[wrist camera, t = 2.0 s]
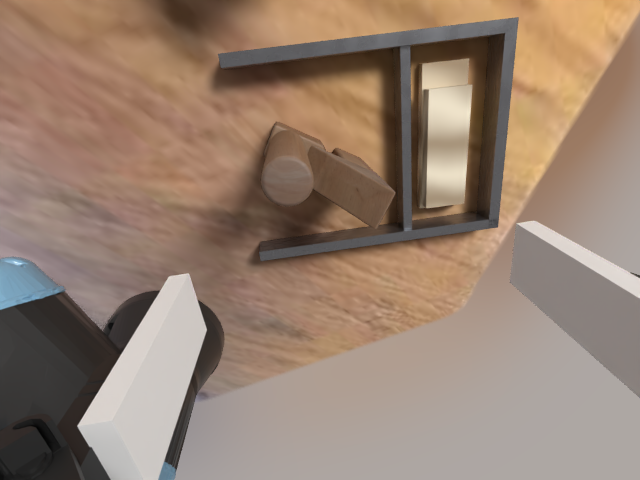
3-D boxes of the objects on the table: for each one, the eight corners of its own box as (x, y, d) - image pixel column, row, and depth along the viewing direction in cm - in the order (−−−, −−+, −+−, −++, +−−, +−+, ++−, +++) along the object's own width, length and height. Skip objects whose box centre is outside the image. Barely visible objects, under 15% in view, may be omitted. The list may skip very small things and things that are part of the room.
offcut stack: (454, 199, 45) (465, 207, 42) (416, 204, 45) (424, 212, 42) (462, 59, 38) (476, 57, 36) (417, 64, 38) (427, 62, 36)
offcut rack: (485, 218, 46) (497, 227, 43) (262, 250, 45) (260, 261, 42) (501, 22, 37) (518, 17, 34) (223, 56, 36) (218, 53, 33)
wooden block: (349, 186, 43) (389, 250, 26) (264, 151, 40) (249, 197, 24) (362, 158, 41) (413, 206, 25) (276, 119, 39) (269, 145, 22)
